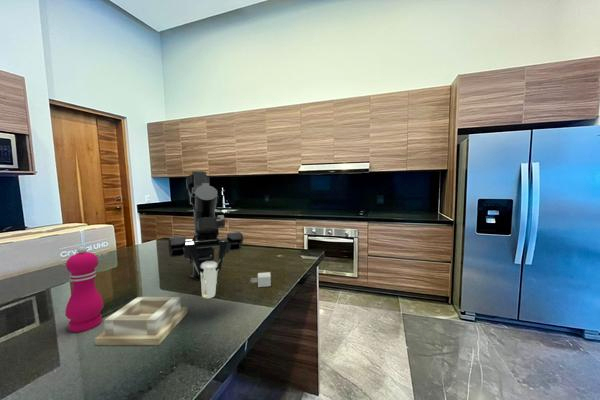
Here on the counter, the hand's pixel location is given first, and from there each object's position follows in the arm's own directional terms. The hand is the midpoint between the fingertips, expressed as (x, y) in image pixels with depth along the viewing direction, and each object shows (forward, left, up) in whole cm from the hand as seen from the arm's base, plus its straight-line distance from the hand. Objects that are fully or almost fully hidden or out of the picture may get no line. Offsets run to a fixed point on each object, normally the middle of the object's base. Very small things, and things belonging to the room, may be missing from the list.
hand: (209, 272), depth 64 cm
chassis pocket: (-10, -11, -13) cm, 20 cm away
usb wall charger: (-7, +24, -13) cm, 28 cm away
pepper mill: (-23, -20, -13) cm, 34 cm away
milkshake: (-1, +1, -7) cm, 7 cm away
